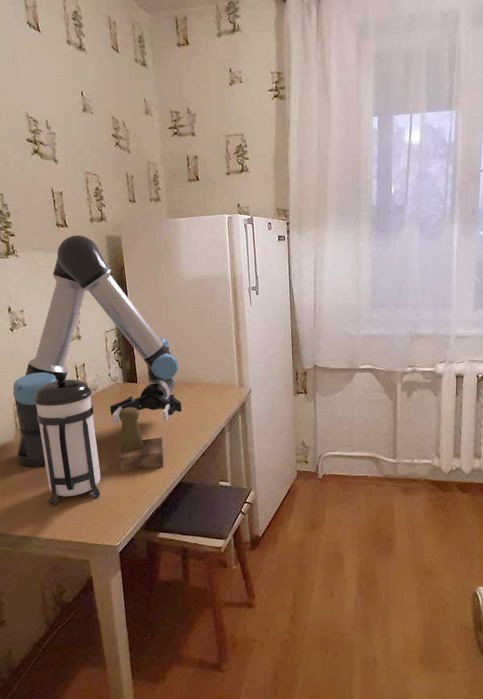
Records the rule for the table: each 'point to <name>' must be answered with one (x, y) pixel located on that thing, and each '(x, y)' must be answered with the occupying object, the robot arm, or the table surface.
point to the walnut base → (143, 456)
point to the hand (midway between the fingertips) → (139, 418)
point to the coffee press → (68, 438)
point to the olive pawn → (130, 430)
